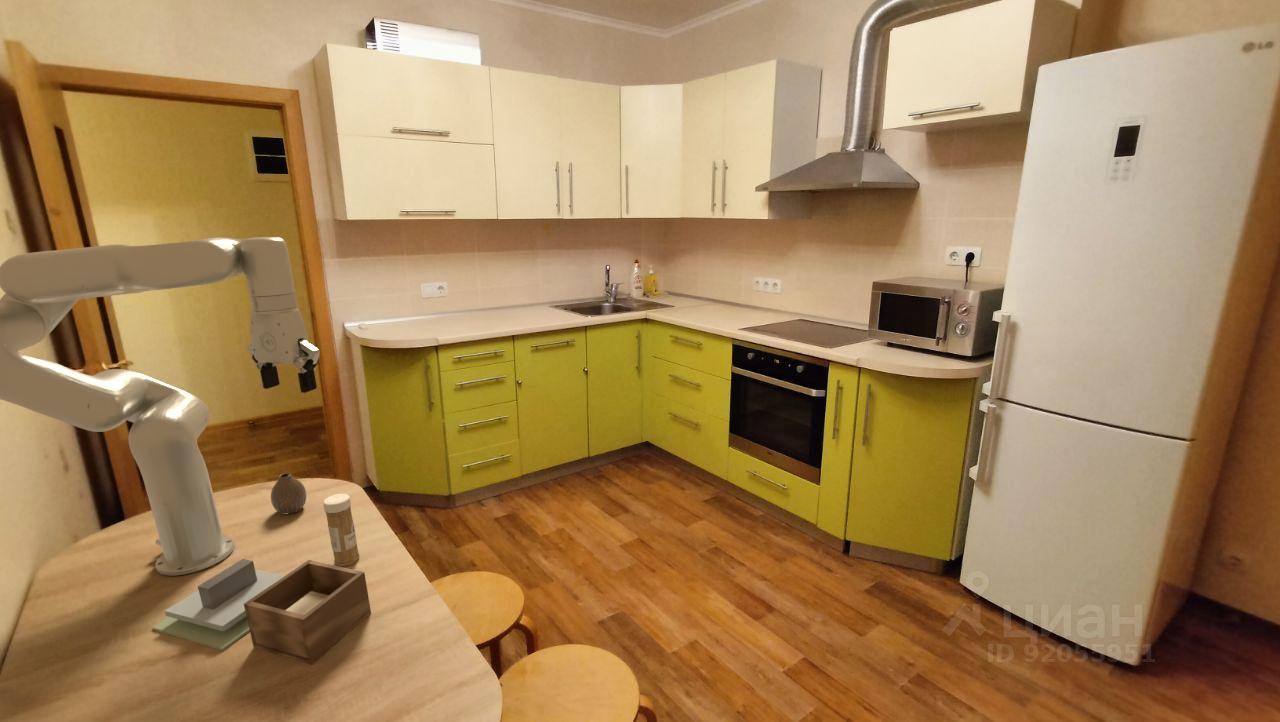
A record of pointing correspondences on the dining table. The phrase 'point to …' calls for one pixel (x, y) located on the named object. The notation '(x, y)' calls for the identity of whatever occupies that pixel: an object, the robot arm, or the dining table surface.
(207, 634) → the mat
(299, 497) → the vase
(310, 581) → the box
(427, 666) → the dining table surface
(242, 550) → the dining table surface
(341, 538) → the sprinkles bottle
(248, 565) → the lid
